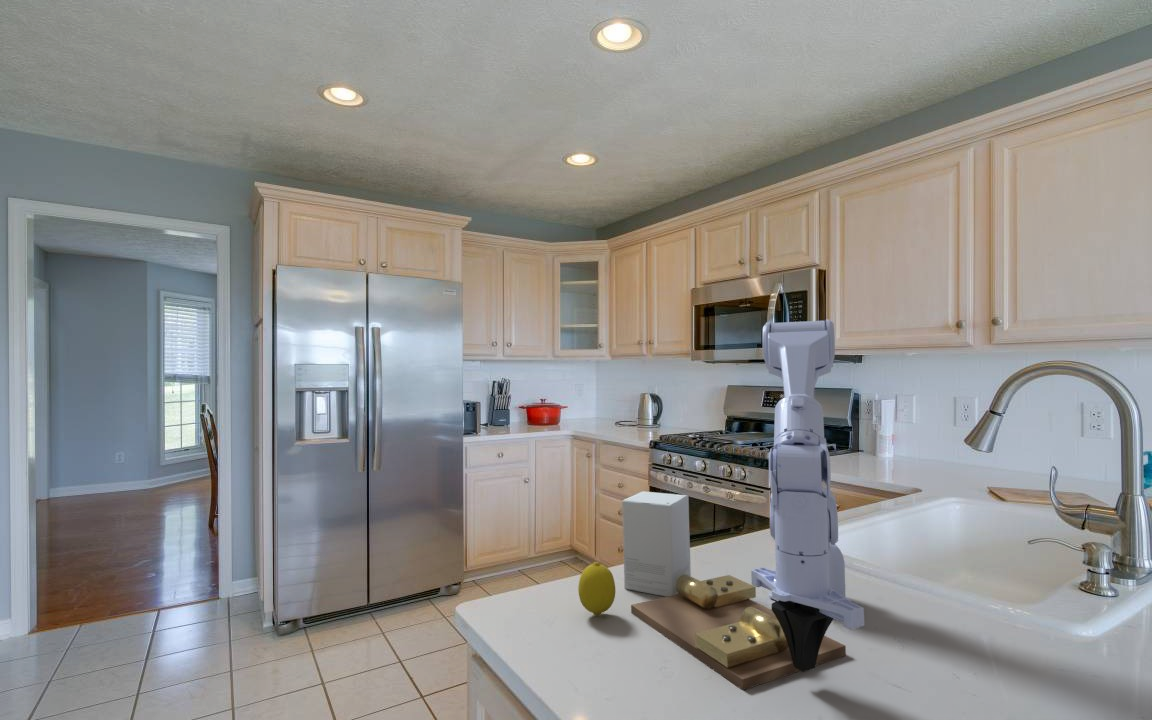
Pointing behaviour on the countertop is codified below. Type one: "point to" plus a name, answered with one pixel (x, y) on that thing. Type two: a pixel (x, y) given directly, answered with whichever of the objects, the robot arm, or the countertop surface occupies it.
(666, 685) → the countertop surface
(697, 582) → the fixed leaf
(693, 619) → the walnut board
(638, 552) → the supplement box
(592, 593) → the lemon
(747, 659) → the plate
